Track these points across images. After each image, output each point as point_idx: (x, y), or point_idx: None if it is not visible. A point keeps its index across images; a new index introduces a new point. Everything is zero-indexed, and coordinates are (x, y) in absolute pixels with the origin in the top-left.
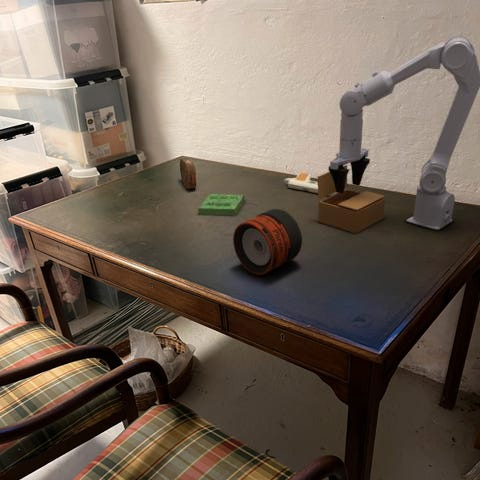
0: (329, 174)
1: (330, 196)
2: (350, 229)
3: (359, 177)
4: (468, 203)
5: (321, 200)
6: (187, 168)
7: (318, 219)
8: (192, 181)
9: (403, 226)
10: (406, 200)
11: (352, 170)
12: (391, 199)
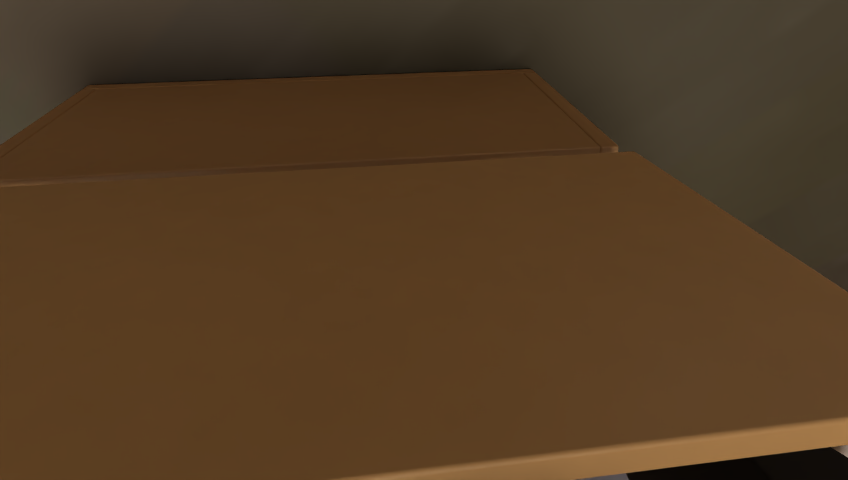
0: (40, 470)
1: (234, 171)
2: None
3: (638, 472)
4: (843, 452)
5: (13, 181)
6: None
7: (77, 95)
8: None
9: None
10: (839, 285)
11: (748, 473)
12: (843, 216)
